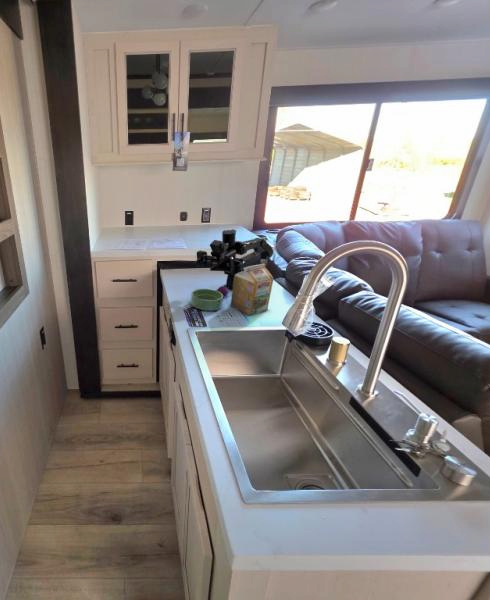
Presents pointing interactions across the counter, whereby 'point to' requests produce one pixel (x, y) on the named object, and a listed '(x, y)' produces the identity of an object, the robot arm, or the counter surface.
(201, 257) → the robot arm
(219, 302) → the bowl
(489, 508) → the counter surface
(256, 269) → the milk carton
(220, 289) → the ball
